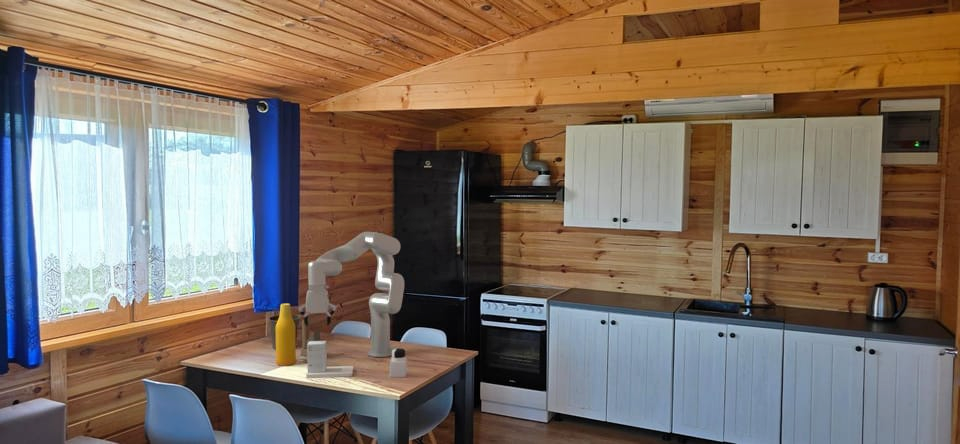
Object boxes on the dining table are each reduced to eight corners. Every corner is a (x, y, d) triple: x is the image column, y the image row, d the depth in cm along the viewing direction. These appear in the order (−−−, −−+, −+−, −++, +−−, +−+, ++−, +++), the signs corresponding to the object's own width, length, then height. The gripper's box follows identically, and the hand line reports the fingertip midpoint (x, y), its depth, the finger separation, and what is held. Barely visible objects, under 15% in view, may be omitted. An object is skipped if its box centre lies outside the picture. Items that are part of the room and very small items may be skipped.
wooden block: (314, 359, 322) (314, 323, 321) (300, 355, 328) (300, 320, 327) (320, 357, 325) (320, 322, 324) (306, 354, 331) (305, 319, 330)
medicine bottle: (406, 372, 299) (406, 347, 299) (405, 377, 292) (405, 351, 292) (391, 372, 299) (391, 347, 298) (389, 377, 292) (389, 351, 291)
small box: (327, 368, 301) (326, 340, 300) (325, 372, 294) (325, 343, 294) (309, 368, 300) (308, 341, 299) (307, 372, 293) (306, 344, 293)
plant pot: (291, 352, 335) (291, 321, 334) (262, 350, 338) (262, 320, 337) (305, 344, 351) (305, 315, 350) (277, 343, 354) (276, 313, 353)
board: (353, 369, 305) (353, 365, 305) (351, 376, 293) (351, 373, 293) (309, 370, 302) (309, 367, 302) (306, 378, 290) (306, 374, 290)
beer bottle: (285, 360, 320) (285, 301, 318) (299, 362, 316) (299, 303, 314) (271, 364, 312) (271, 304, 310) (286, 367, 307) (285, 306, 306)
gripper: (337, 286, 301) (337, 322, 302) (298, 287, 298) (299, 323, 299) (335, 289, 293) (336, 326, 294) (296, 289, 291) (297, 327, 292)
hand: (317, 325), depth 297 cm, fingers open, 9 cm apart
